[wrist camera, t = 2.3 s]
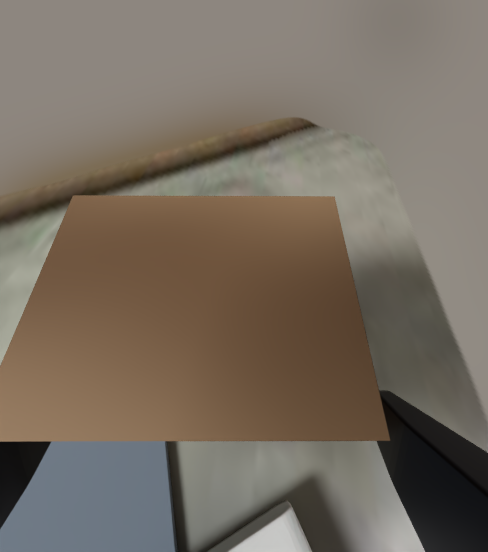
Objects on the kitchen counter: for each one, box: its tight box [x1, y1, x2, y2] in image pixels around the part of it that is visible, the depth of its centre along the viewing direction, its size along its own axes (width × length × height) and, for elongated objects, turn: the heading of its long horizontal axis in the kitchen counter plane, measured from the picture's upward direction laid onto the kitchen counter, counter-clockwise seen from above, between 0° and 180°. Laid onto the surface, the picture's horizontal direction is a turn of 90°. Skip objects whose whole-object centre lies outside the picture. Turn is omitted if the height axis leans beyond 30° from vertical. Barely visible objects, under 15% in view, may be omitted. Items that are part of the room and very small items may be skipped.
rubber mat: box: [0, 441, 178, 552], centre depth 14 cm, size 11×10×1 cm
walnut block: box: [0, 196, 390, 442], centre depth 10 cm, size 4×5×14 cm
